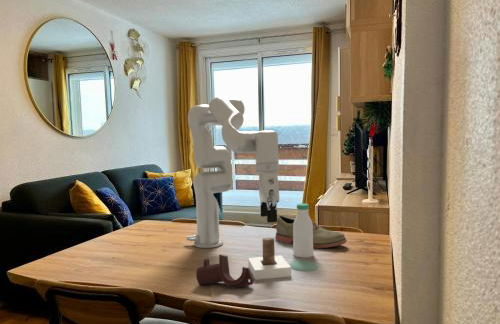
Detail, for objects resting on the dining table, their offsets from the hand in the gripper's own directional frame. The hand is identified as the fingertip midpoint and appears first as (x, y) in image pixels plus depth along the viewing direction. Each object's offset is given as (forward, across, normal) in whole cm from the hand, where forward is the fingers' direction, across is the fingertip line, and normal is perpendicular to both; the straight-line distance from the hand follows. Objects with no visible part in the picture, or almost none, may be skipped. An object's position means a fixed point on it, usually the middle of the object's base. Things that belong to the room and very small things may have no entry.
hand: (268, 219), depth 118 cm
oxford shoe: (+19, +29, -24) cm, 42 cm away
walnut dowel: (+18, 0, 0) cm, 18 cm away
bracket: (+19, -6, +16) cm, 25 cm away
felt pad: (+18, +3, -13) cm, 23 cm away
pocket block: (+18, +1, 0) cm, 18 cm away
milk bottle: (+19, +15, -17) cm, 29 cm away
